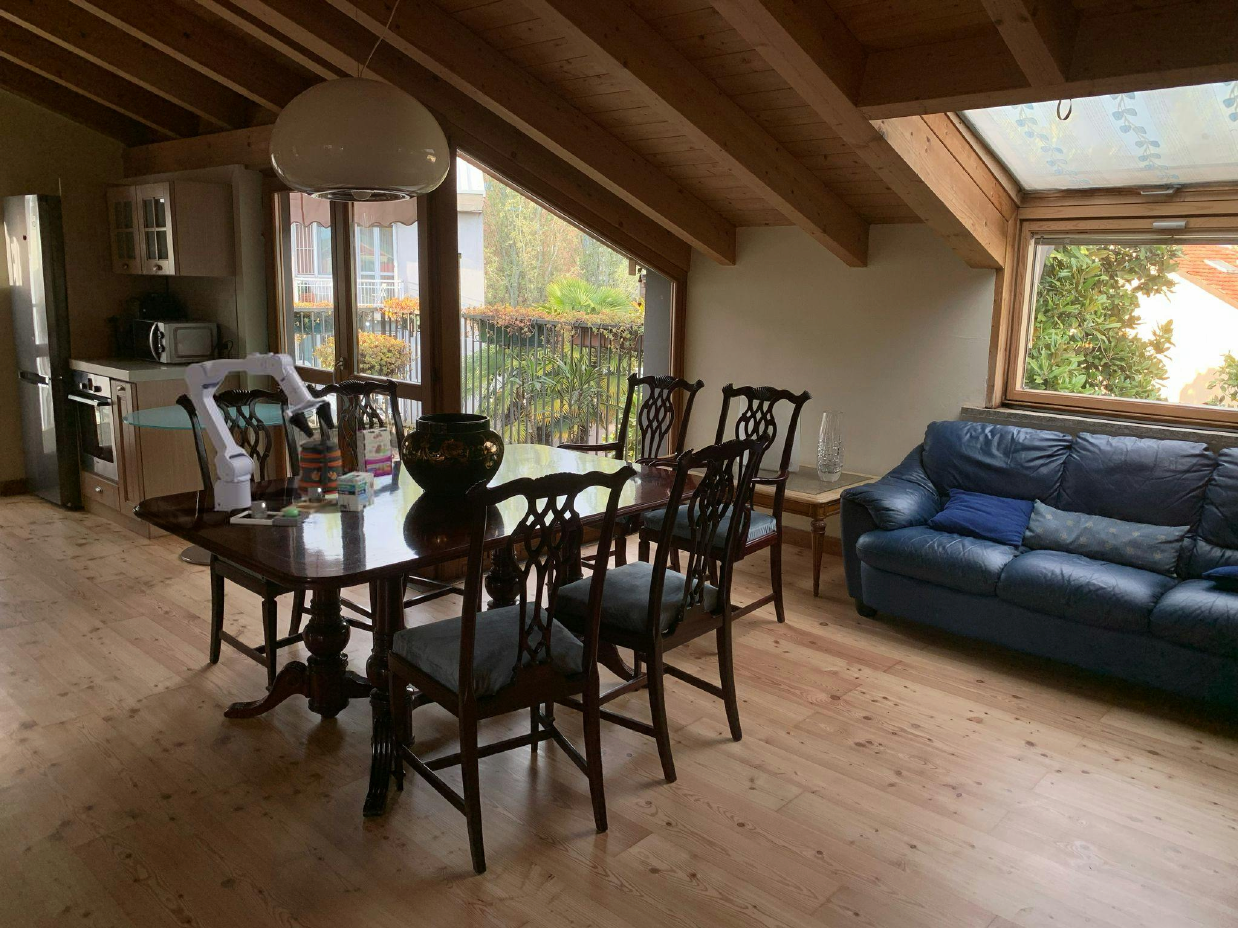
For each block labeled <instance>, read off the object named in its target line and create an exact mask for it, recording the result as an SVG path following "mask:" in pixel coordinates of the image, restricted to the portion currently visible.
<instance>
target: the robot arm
mask: <svg viewBox="0 0 1238 928" xmlns="http://www.w3.org/2000/svg"><path fill="white" fill-rule="evenodd" d="M243 371H246V373H247V374H249V375H250V376H261V375H262V376H264V375H265V376H267V375H268V376H273V377H274V379H275V381H277V382H278V384H279V385H280V387H281V389H282V390H283V392H284V394H285V395H286V396H287V399H288V400H289V401H290V403H291V405H292V406H293V407H292V408H290V409H287V410H285V411H284V412H283V413H282V415H283V416H284V418H285V420H288V423H289V424H290V425H291V426H294V427H295V428H297V429H298V430H299V431H300V432H301V433H303V434H304V435H305V436H306V437H307V438H308V439H311V438H312V437H314V436H315V433H314V431H313V429H312V427H311V425H310V424H309V422H308V420H307V416H306V414H305V413H306V412H310V411H311V410H315V409H317V410H316V411H315V413H314V414H315V415H316V416H318V417H319V418H320V419H321V420H322V422H323V423H324V425H325V426H326V428H327V429H328V430H329V431H332V430H333V429H334V428H336V425H335V422H334V420H333V416H332V407H331V406H332V404H331V402H330V400H329V399H328V397H327V396H323V397H318V398H315V397H313V395H311V393H310V391H309V390H308V388H307V386H306V385H305V383H304V381H303V380H302V378H301V376H300V375H299V373H298V372H297V371H296V368H295V360H294V358H293V357H292V356H291V355H290V354H288V353H284V352H282V353H278V354H277V353H276V354H274V352H267V353H266V354H260V353H259V352H251V354H249V355H247V356H246V358H245V359H232V358H231V359H229V358H227V359H223V358H222V359H215V360H214V359H213V360H208V361H202V362H199V363H191V364H190V365H188V366H187V368H186V371H185V373H184V377H183V378H184V381H185V383H186V384H187V387H188V391H189V392H188V393H189V397H190V401H191V403H192V404H193V406H194V408H195V410H196V412H197V414H198V416H199V418H200V420H201V423H202V424H203V426H204V428H205V430H206V432H207V434H208V436H209V438H210V440H211V442H212V444H213V446H214V448H215V450H216V451H217V453H216V455H215V457H214V460H213V461H214V463H215V465H216V472H217V475H218V478H220V479H218V480H217V481H216V482H215V484H214V488H213V492H214V509H213V511H220V512H231V511H233V510H235V509H244V508H249V507H251V502H252V497H251V494H252V493H251V480H250V479H251V478H252V474H253V473H254V471H255V462H254V459H252V457H250V455H248V453H247V452H246V450H245V449H244V448H243V447H241V446H239V445H237V443H236V442H235V440H234V438H233V435H232V434H231V431H230V429H229V428H228V426H227V424H226V422H225V420H224V418H223V415H222V413H221V412H220V410H219V407H218V406H217V404H216V402H215V400H214V398H213V396H214V394H215V392H216V390H217V389H218V388H219V386H220V385H221V384H222V382H223V381H224V380H225V376H227V375H228V374H229V372H243Z"/></svg>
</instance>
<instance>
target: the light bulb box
mask: <svg viewBox="0 0 1238 928" xmlns="http://www.w3.org/2000/svg"><path fill="white" fill-rule="evenodd" d="M337 483H338V493H337V501H338V502H337V503H338V504H337V505H338V507H337V508H338V511H349V512H360V511H362V510H364V509H367V508H369V507H370V506H373V505H374V504H375V477H374V473H365V472H359V471H352V472H349V473H347V474H344V475H342V477H339V478H337Z"/></svg>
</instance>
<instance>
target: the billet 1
mask: <svg viewBox="0 0 1238 928" xmlns="http://www.w3.org/2000/svg"><path fill="white" fill-rule="evenodd" d="M250 509H251V510H250V511H251V513H250V514H251V519H260V520H267V518H268V514H267V512H268V511H267V509H268V507H267V501H265V500H255V501H251V506H250Z"/></svg>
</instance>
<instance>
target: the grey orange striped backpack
mask: <svg viewBox="0 0 1238 928" xmlns="http://www.w3.org/2000/svg"><path fill="white" fill-rule="evenodd" d="M299 448H301V449H300V452H299V462H298V465H299V477H298V478H299V479H298V481H297V492H298V493H299V494H301V495H307V496H308V487H312V486H320V487H322V496H329V495H330V496H331V495H338V483H337V478H339V477H342V476H343V469H342V465H343V462H342V461H343V459H342V456H341V449H339V443H337V442H334V441H332V440H328V439H327V436H322V437H320V439H316V438H314V439H313V440H309V441H305V442H303V443H301V444H300V445H299Z"/></svg>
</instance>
